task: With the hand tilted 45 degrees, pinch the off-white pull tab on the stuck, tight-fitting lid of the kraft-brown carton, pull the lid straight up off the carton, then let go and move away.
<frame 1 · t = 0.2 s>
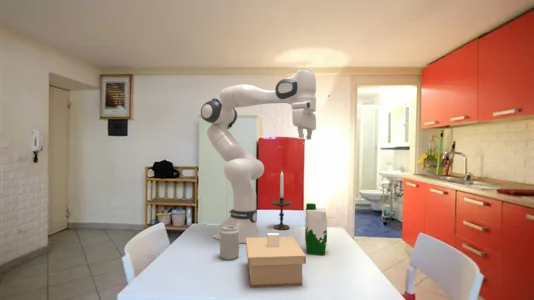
hand: (305, 138, 117), 48 cm above the table, tool pointing down, fingers open, 8 cm apart
milk carton: (315, 252, 114), on the table
can: (229, 257, 107), on the table
candlestick: (281, 228, 151), on the table
carton lid: (273, 243, 92), point 10 cm above the table, slide at 0.0 cm
carton: (272, 273, 92), on the table
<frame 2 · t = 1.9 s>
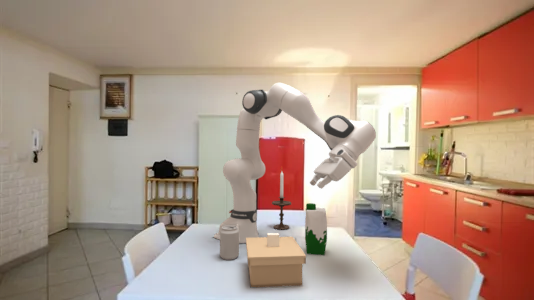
hand: (315, 185, 96), 30 cm above the table, tool tilted 45°, fingers open, 8 cm apart
nothing on the table moved.
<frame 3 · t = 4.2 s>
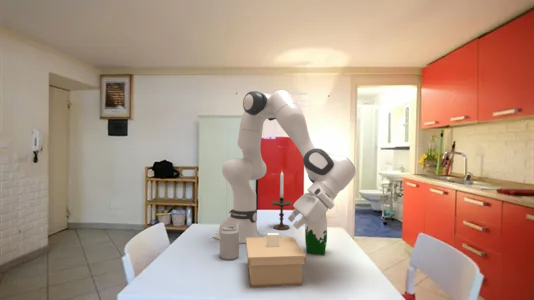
hand: (292, 223, 93), 17 cm above the table, tool tilted 45°, fingers open, 8 cm apart
nothing on the table moved.
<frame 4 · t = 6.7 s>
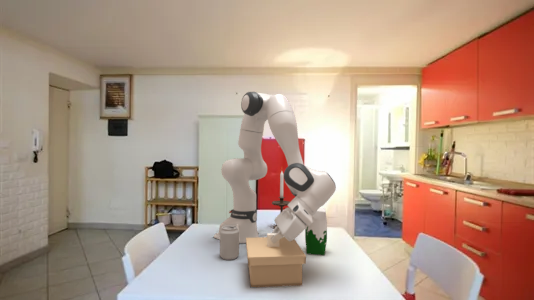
hand: (271, 240, 92), 11 cm above the table, tool tilted 45°, fingers closed on carton lid, 2 cm apart
carton lid: (273, 243, 92), point 10 cm above the table, slide at 0.0 cm, touching gripper
everything else where it was.
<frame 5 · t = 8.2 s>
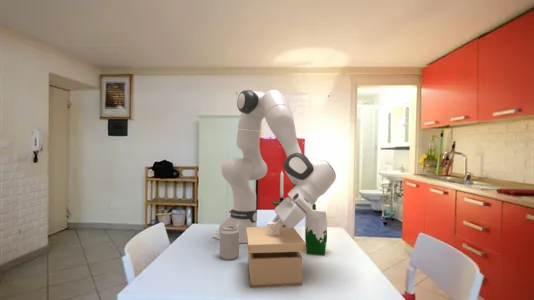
hand: (271, 228, 92), 15 cm above the table, tool tilted 45°, fingers closed on carton lid, 2 cm apart
carton lid: (273, 232, 92), point 14 cm above the table, slide at 3.8 cm, touching gripper
everything else where it was.
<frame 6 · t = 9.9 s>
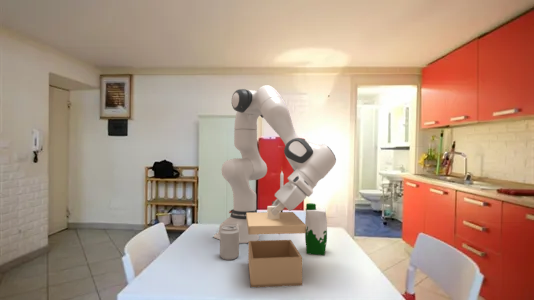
hand: (271, 212, 92), 21 cm above the table, tool tilted 45°, fingers open, 3 cm apart
carton lid: (273, 216, 92), point 20 cm above the table, slide at 9.4 cm
everything else where it was.
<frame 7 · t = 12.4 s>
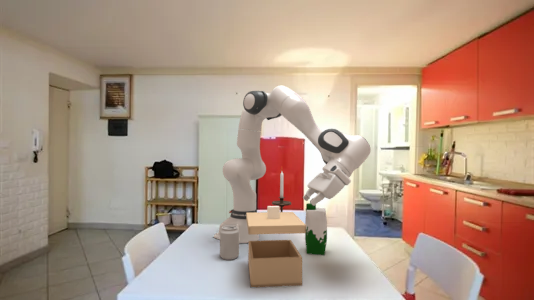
hand: (307, 201, 94), 24 cm above the table, tool tilted 45°, fingers open, 8 cm apart
nothing on the table moved.
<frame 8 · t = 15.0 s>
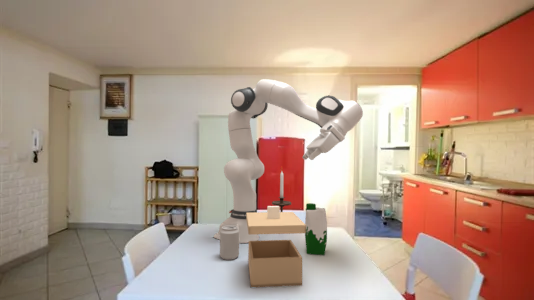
hand: (306, 158, 106), 39 cm above the table, tool tilted 45°, fingers open, 8 cm apart
nothing on the table moved.
at the end: carton lid slide at 9.4 cm; the gripper is holding nothing; can moved 0.2 cm from its start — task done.
